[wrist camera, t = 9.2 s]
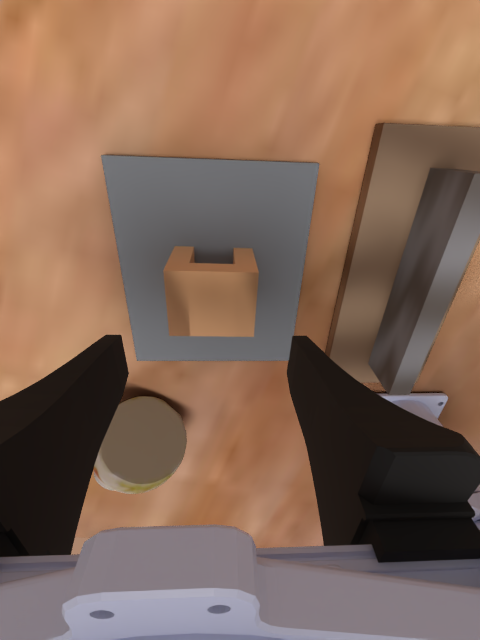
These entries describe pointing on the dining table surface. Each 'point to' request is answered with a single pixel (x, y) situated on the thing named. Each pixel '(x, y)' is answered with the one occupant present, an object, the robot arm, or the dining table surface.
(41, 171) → the dining table surface
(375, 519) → the robot arm
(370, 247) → the stand
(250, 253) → the u-shaped block
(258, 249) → the mat
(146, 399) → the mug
